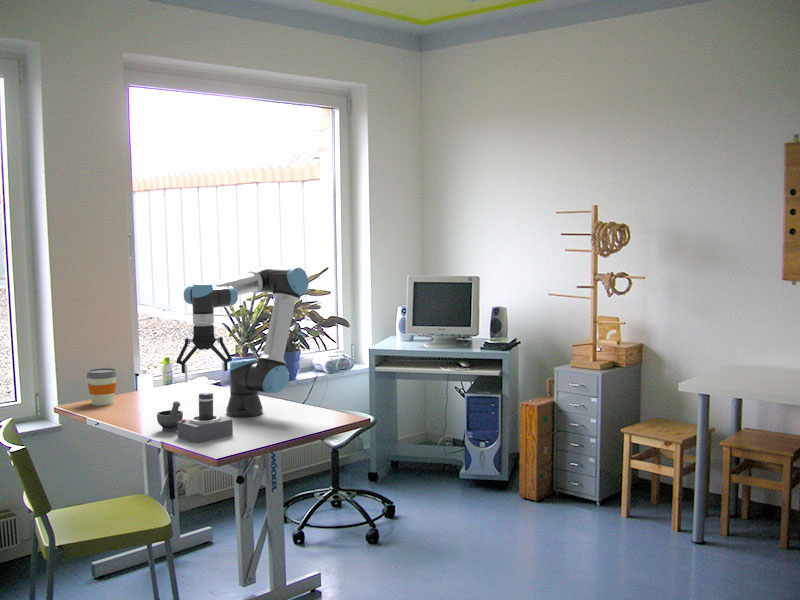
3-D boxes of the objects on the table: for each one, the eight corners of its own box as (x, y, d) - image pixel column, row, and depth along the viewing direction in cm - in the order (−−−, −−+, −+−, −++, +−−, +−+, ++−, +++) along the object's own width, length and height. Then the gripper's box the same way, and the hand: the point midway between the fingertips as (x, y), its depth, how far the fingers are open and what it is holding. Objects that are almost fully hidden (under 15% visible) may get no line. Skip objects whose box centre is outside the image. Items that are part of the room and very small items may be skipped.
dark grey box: (214, 429, 298) (213, 411, 298) (232, 435, 290) (232, 416, 290) (177, 437, 286) (177, 419, 286) (196, 443, 278) (195, 424, 278)
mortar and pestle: (152, 430, 297) (152, 399, 296) (174, 426, 304) (173, 396, 303) (168, 435, 289) (167, 404, 288) (189, 431, 296) (189, 400, 295)
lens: (198, 419, 290) (198, 392, 289) (212, 418, 291) (212, 392, 290) (199, 422, 284) (198, 395, 284) (214, 421, 286) (213, 394, 285)
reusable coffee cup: (122, 400, 351) (121, 368, 350) (111, 406, 339) (110, 373, 337) (94, 400, 351) (93, 368, 350) (82, 406, 339) (81, 372, 338)
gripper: (168, 327, 280) (170, 384, 282) (238, 324, 286) (239, 380, 288) (169, 324, 287) (170, 380, 289) (237, 322, 293) (238, 377, 295)
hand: (205, 380), depth 288 cm, fingers open, 13 cm apart
